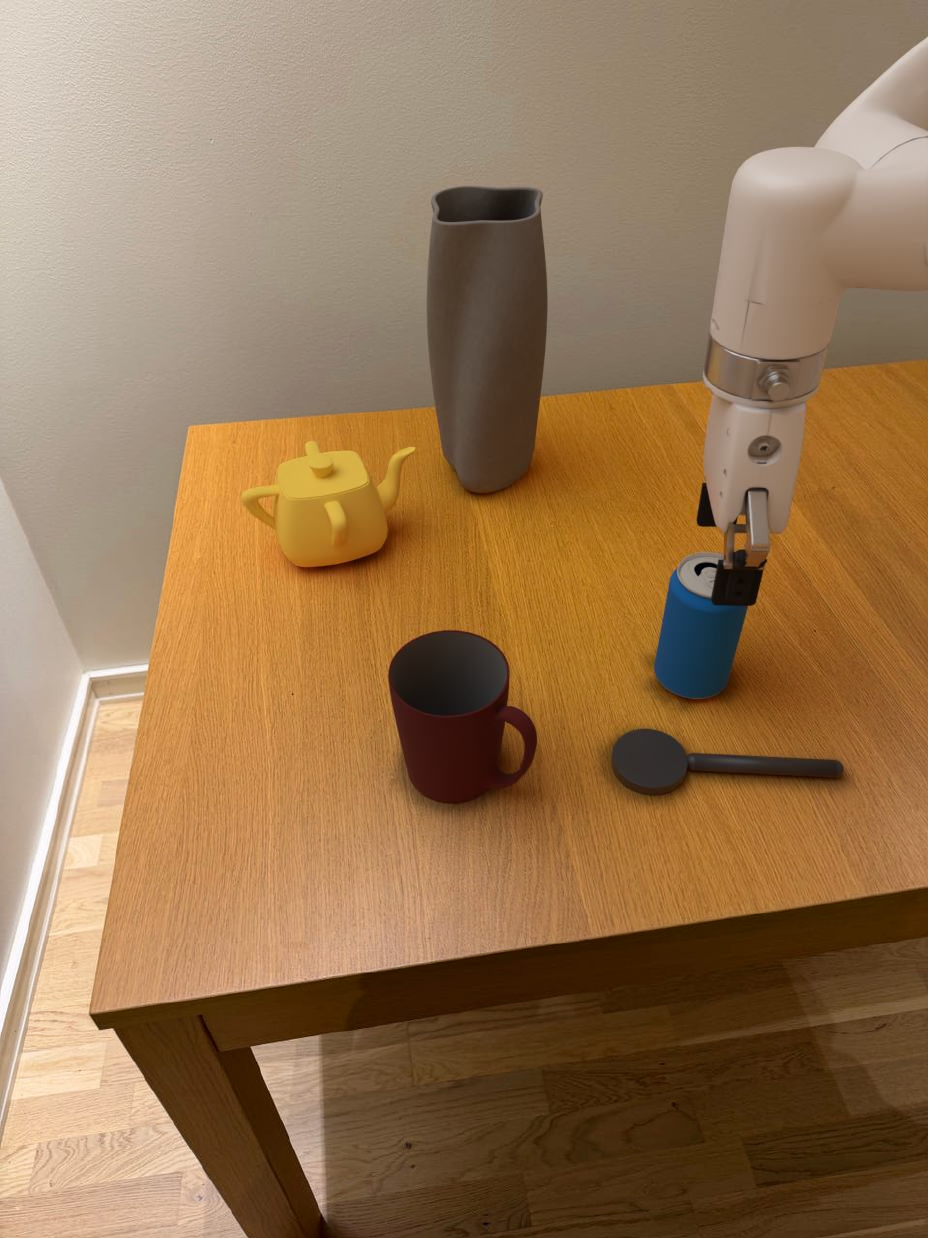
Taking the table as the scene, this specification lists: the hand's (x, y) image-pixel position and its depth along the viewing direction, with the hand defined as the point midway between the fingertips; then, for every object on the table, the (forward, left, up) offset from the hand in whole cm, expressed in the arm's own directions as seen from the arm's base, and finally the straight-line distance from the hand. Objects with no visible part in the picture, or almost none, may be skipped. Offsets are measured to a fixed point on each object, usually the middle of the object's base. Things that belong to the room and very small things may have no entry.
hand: (723, 561), depth 70 cm
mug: (+20, +12, -13) cm, 27 cm away
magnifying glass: (0, +10, -13) cm, 17 cm away
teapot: (+36, -18, -13) cm, 42 cm away
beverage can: (+1, 0, -13) cm, 13 cm away
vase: (+21, -32, -13) cm, 40 cm away
